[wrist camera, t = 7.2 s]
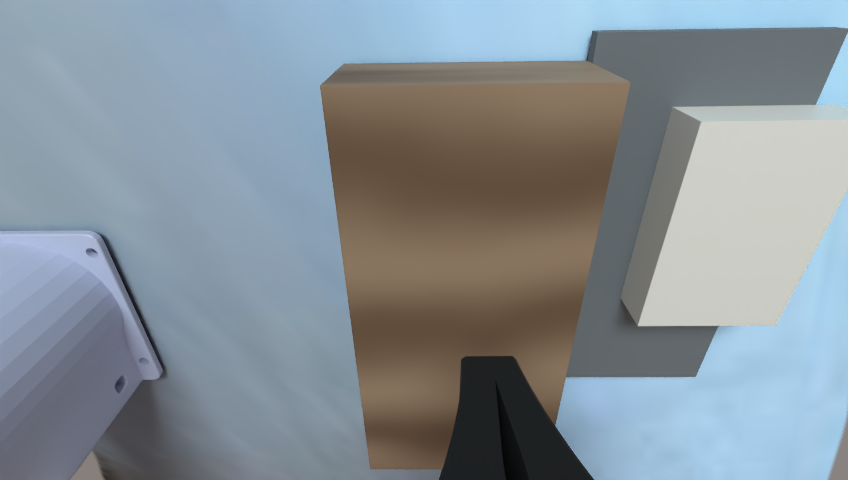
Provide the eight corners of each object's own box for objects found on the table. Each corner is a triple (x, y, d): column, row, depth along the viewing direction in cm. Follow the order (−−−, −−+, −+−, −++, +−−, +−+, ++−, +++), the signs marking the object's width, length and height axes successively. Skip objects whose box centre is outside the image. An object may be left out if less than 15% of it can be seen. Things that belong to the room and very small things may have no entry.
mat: (690, 368, 24) (695, 376, 23) (535, 368, 24) (538, 376, 24) (835, 27, 15) (849, 28, 15) (592, 30, 15) (598, 32, 15)
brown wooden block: (529, 404, 26) (545, 469, 22) (378, 404, 26) (370, 468, 22) (587, 60, 16) (630, 82, 12) (343, 63, 16) (320, 85, 13)
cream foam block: (637, 326, 19) (620, 297, 21) (776, 325, 19) (747, 297, 21) (701, 121, 14) (672, 106, 16) (884, 119, 14) (835, 104, 16)
